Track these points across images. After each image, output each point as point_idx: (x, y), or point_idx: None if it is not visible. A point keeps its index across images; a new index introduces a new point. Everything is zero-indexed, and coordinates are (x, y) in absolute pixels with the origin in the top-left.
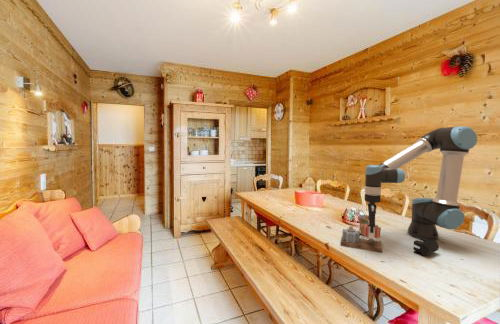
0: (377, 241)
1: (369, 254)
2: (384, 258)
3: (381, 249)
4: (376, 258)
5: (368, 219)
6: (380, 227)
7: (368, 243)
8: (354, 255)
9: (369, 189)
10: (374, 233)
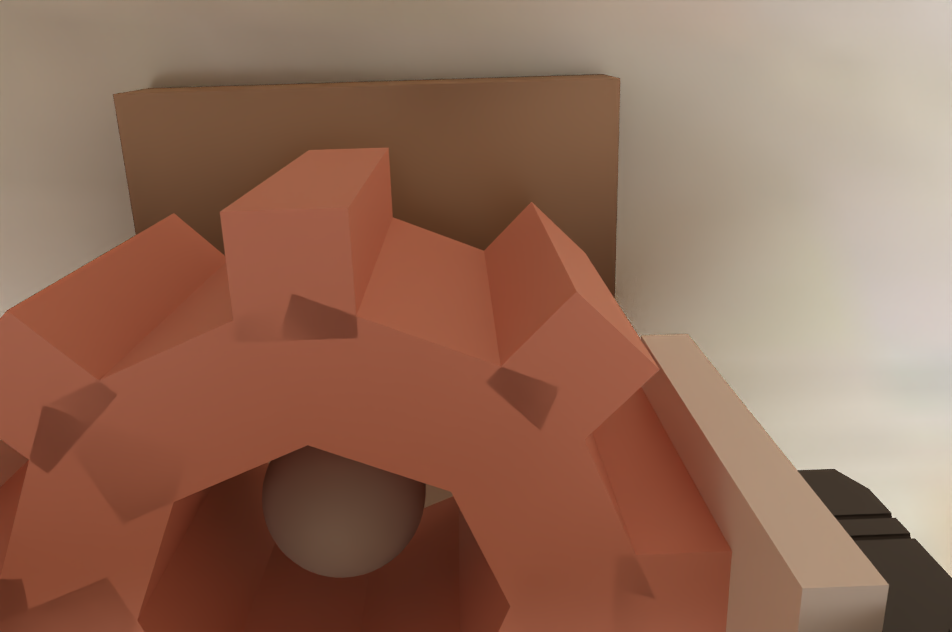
0: (177, 174)
1: (801, 319)
2: (901, 39)
3: (614, 92)
4: (949, 195)
5: None
6: (233, 218)
7: None
8: (932, 551)
9: None
10: (747, 412)
